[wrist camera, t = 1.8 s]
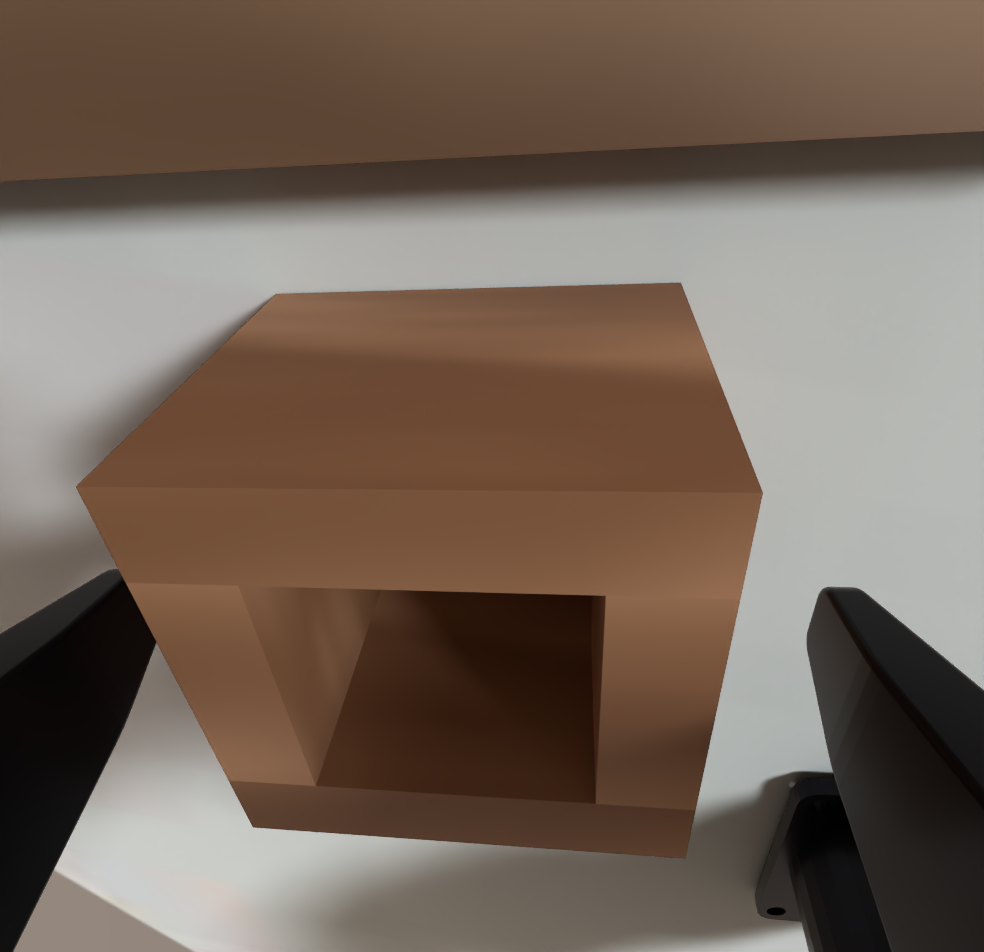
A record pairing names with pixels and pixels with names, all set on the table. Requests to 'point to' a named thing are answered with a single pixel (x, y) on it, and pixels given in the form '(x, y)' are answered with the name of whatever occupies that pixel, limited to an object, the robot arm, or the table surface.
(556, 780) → the bead
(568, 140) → the wooden board with peg
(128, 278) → the table surface
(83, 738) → the robot arm
